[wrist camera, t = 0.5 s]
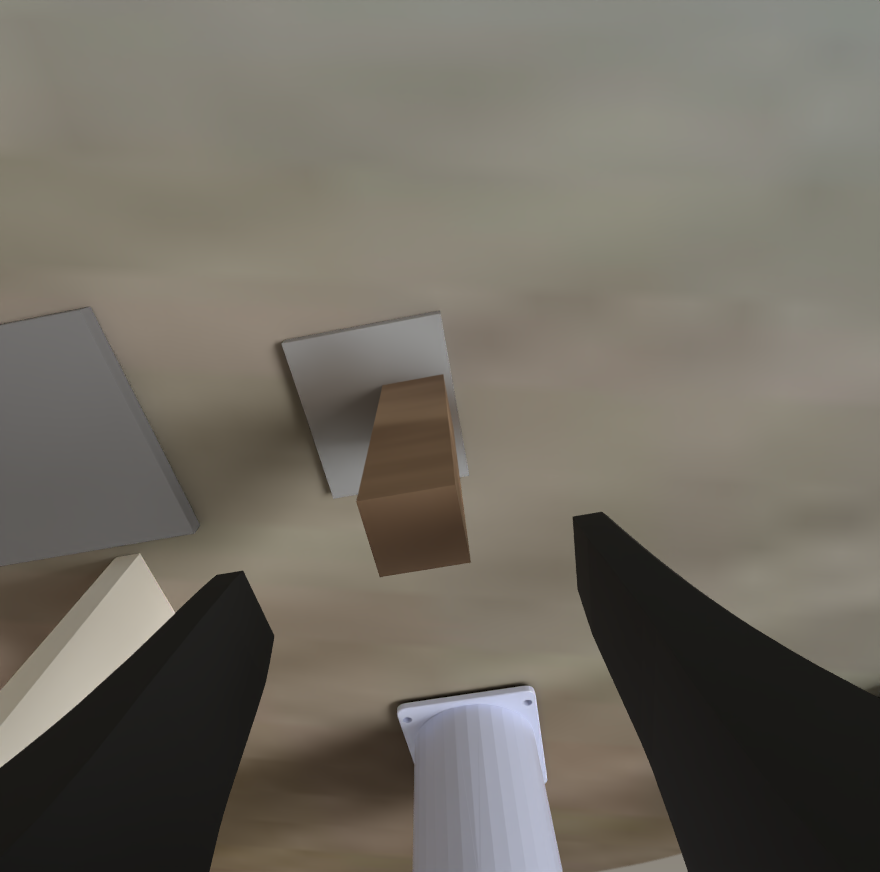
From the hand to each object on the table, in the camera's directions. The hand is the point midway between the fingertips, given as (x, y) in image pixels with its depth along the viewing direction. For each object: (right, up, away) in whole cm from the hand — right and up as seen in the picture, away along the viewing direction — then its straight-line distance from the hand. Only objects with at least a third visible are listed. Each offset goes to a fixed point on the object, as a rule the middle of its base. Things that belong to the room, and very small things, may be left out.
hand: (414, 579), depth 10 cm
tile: (-14, -6, +14) cm, 20 cm away
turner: (-2, +4, +9) cm, 10 cm away
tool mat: (-16, +3, +9) cm, 19 cm away
